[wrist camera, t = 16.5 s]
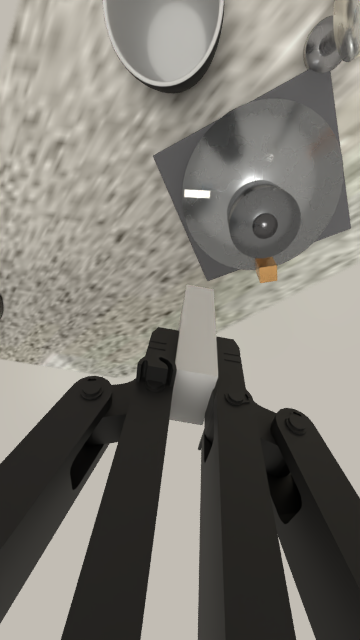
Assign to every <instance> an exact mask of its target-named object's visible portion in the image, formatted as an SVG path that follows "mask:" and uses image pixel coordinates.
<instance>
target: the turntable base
mask: <svg viewBox="0 0 360 640" xmlns="http://www.w3.org/2000/svg"><path fill="white" fill-rule="evenodd" d="M276 98H278V99H286V100H291V101H294V102H298V103H301V104H303V105H305V106H307V107H309V108H311V109H312V110H313V111H315V112H316V113H317V114H319V115H320V116H321V117H322V118H323V119H324V120H325V122H326V123H327V124H328V125H329V127H330V128H331V130H332V131H333V133H334V134H335V137H336V139H337V141H338V144H339V147H340V141H339V134H338V126H337V118H336V111H335V103H334V96H333V88H332V80H331V73H330V71H329V72H326V73H316V72H314V71H312V70H311V69H309V70H307V71H305V72H303V73H302V74H300V75H298V76H296V77H294V78H293V79H291V80H289V81H287V82H285V83H284V84H282V85H280V86H278V87H276V88H275V89H273V90H271V91H269V92H267V93H266V94H264V95H262V96H260V97H258V98H257V99H255V100H253V101H257V100H262V99H276ZM253 101H251V102H253ZM249 103H250V102H249ZM217 121H218V120H217ZM217 121H215V122H213V123H211V124H210V125H208V126H206V127H204V128H202V129H201V130H199V131H197V132H195V133H193V134H191V135H190V136H188V137H186V138H184V139H182V140H181V141H179V142H177V143H175V144H173V145H172V146H170V147H168V148H166V149H164V150H163V151H161V152H159V153H157V154H155V155H154V156H153V157H154V160H155V162H156V164H157V166H158V169H159V171H160V173H161V176H162V178H163V180H164V183H165V185H166V187H167V189H168V192H169V194H170V196H171V199H172V201H173V203H174V206H175V208H176V210H177V212H178V215H179V217H180V219H181V222H182V224H183V226H184V229H185V231H186V233H187V235H188V238H189V240H190V242H191V245H192V247H193V249H194V252H195V254H196V256H197V258H198V261H199V263H200V265H201V268H202V270H203V272H204V275H205V277H206V279H207V281H210V280H212V279H215V278H218V277H220V276H223V275H226V274H229V273H231V272H234V271H237V270H239V269H236V268H233V267H229V266H226V265H224V264H221V263H219V262H218V261H216V260H214V259H213V258H211V257H210V256H209V255H207V254H206V253H205V252H204V251H203V250H202V249H201V248H200V247H199V245H198V244H197V243H196V241H195V240H194V238H193V237H192V235H191V233H190V231H189V229H188V226H187V224H186V221H185V217H184V213H183V206H182V188H183V180H184V176H185V171H186V168H187V165H188V162H189V160H190V158H191V155H192V153H193V151H194V149H195V148H196V146H197V144H198V143H199V141H200V140H201V138H202V137H203V136H204V135H205V133H206V132H207V131H208V130H209V129H210V128H211V127H212V126H213V125H214V124H215V123H216V122H217ZM340 150H341V149H340ZM348 229H351V225H350V217H349V210H348V202H347V194H346V187H345V179H344V172H343V184H342V190H341V194H340V198H339V202H338V204H337V207H336V209H335V212H334V214H333V216H332V218H331V220H330V221H329V223H328V225H327V226H326V228H325V229H324V231H323V232H322V233H321V234H320V236H319V237H318V238H317V239H316V240H315V241H318V240H321V239H323V238H326V237H329V236H332V235H334V234H337V233H340V232H342V231H345V230H348ZM315 241H314V242H315Z"/></svg>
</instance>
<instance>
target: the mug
mask: <svg viewBox="0 0 360 640" xmlns="http://www.w3.org/2000/svg"><path fill="white" fill-rule="evenodd" d="M102 4H103V13H104V20H105V24H106V29H107V32H108V35H109V38H110V41H111V44H112V46H113V48H114V50H115V52H116V54H117V56H118V57H119V59H120V61H121V62H122V63H123V65H124V66H125V67H126V69H127V70H128V71H129V72H130V73H131V74H132V75H133V76H134V77H135V78H137V79H138V80H139V81H141V82H142V83H143V84H145V85H147V86H149V87H150V88H153V89H155V90H158V91H161V92H166V93H178V92H182V91H185V90H187V89H189V88H191V87H192V86H194V85H195V84H196V83H197V82H198V81H199V80H200V79H201V78H202V77H203V75H204V74H205V73H206V71H207V69H208V68H209V66H210V64H211V62H212V59H213V57H214V54H215V52H216V49H217V45H218V42H219V38H220V34H221V29H222V23H223V15H224V0H102Z"/></svg>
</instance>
